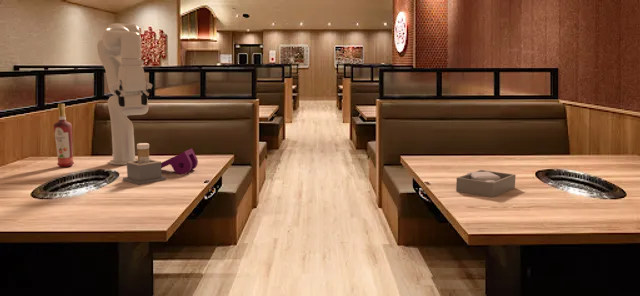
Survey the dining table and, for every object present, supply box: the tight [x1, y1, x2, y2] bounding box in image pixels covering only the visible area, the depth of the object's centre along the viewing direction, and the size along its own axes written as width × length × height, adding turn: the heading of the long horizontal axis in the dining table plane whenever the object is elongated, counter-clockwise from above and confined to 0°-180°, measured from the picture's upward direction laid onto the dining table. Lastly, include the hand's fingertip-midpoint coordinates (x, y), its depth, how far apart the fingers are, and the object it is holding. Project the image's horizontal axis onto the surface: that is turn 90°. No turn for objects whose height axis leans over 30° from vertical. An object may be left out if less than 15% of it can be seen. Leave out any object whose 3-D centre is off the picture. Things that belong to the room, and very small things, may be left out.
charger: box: [467, 171, 500, 182], centre depth 188 cm, size 5×9×15 cm
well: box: [122, 158, 167, 186], centre depth 203 cm, size 12×12×7 cm
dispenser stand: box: [455, 169, 517, 198], centre depth 188 cm, size 14×20×5 cm
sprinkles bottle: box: [136, 142, 151, 164], centre depth 202 cm, size 5×5×13 cm
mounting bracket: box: [161, 148, 199, 175], centre depth 220 cm, size 10×8×18 cm
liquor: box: [53, 103, 75, 168], centre depth 229 cm, size 7×7×28 cm
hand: (133, 105), depth 211 cm, fingers open, 9 cm apart
